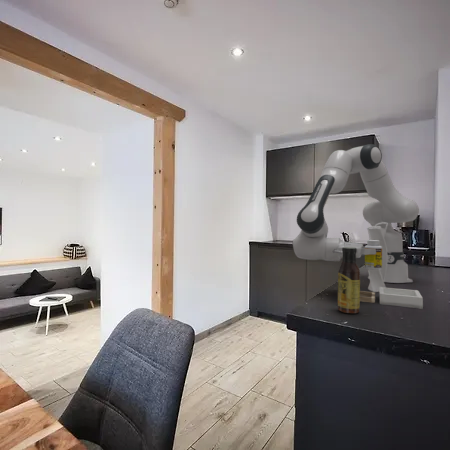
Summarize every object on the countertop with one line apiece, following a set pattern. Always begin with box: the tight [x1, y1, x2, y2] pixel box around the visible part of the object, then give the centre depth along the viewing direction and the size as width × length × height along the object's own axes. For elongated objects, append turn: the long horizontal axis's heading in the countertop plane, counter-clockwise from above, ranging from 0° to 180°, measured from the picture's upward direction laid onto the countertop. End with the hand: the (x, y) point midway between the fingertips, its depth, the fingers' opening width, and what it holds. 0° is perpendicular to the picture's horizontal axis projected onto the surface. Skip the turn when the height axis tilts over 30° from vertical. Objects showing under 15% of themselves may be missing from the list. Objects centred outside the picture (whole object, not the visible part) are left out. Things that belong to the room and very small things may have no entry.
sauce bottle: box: [337, 247, 361, 314], centre depth 87 cm, size 7×6×20 cm
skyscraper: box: [366, 222, 388, 293], centre depth 116 cm, size 8×8×28 cm
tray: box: [379, 287, 424, 310], centre depth 98 cm, size 12×12×4 cm
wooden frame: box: [360, 290, 376, 304], centre depth 104 cm, size 10×10×2 cm
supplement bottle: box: [364, 239, 382, 270], centre depth 102 cm, size 6×6×10 cm
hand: (376, 250), depth 102 cm, fingers closed on supplement bottle, 5 cm apart
